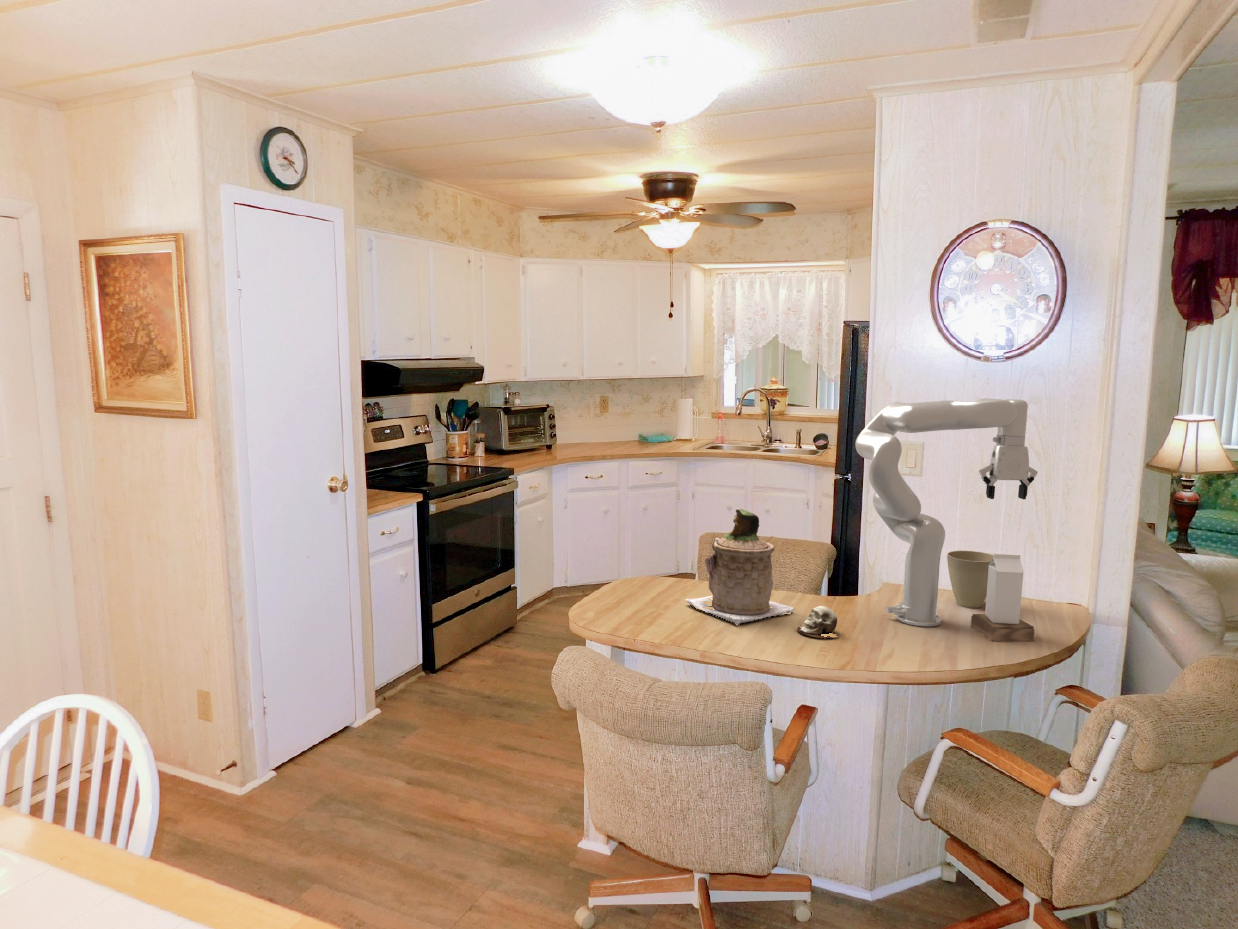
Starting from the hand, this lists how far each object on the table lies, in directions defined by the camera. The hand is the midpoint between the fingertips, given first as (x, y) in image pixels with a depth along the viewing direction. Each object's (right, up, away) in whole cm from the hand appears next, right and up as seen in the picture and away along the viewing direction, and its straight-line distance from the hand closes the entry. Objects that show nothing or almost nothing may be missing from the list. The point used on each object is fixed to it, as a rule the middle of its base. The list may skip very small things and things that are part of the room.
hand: (1006, 498), depth 246 cm
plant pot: (-4, -35, +16) cm, 39 cm away
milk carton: (-7, -34, -12) cm, 37 cm away
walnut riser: (-7, -38, -12) cm, 40 cm away
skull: (-59, -38, -13) cm, 71 cm away
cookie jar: (-79, -35, +7) cm, 86 cm away
